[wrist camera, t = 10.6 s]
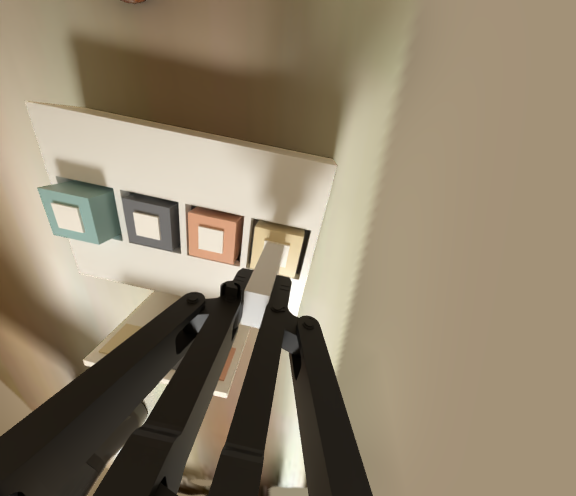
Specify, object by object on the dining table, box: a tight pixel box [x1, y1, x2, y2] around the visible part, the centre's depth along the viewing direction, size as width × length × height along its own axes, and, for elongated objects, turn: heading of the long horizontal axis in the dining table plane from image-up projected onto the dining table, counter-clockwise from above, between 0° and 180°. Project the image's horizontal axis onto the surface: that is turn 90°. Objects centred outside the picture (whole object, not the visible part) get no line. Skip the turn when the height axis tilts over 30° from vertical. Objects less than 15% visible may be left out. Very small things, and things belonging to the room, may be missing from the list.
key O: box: [122, 193, 193, 251], centre depth 22 cm, size 4×4×4 cm
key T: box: [250, 220, 305, 278], centre depth 21 cm, size 4×4×4 cm
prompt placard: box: [83, 291, 251, 398], centre depth 26 cm, size 14×1×11 cm, turn 80°
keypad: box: [25, 101, 337, 317], centre depth 23 cm, size 24×16×5 cm, turn 80°
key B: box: [188, 206, 244, 264], centre depth 21 cm, size 4×4×4 cm
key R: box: [38, 180, 122, 245], centre depth 20 cm, size 4×4×4 cm
